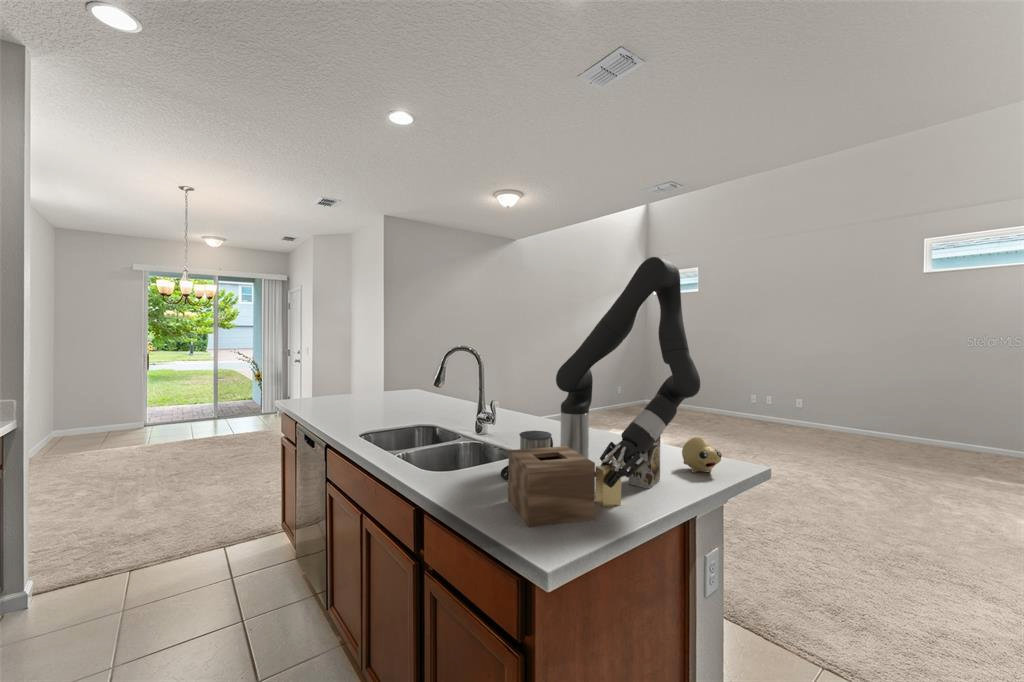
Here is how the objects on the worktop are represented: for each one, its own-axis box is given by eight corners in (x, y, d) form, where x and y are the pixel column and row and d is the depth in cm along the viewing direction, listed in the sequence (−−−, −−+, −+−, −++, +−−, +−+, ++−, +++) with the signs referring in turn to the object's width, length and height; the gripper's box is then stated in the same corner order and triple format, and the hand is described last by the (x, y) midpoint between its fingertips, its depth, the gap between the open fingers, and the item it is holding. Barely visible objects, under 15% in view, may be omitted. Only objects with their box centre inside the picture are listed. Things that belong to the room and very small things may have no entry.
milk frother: (549, 493, 116) (549, 438, 116) (492, 489, 120) (492, 435, 119) (555, 477, 130) (555, 427, 130) (504, 473, 134) (504, 425, 133)
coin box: (508, 501, 111) (508, 450, 111) (566, 495, 115) (566, 446, 115) (528, 527, 95) (529, 468, 95) (594, 519, 100) (594, 463, 100)
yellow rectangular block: (595, 501, 111) (595, 466, 111) (612, 499, 113) (613, 464, 113) (603, 507, 107) (603, 470, 107) (620, 505, 109) (621, 469, 109)
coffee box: (650, 489, 120) (650, 431, 120) (627, 484, 124) (628, 428, 124) (661, 481, 127) (661, 426, 127) (639, 476, 131) (640, 423, 131)
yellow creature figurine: (698, 479, 129) (698, 443, 129) (676, 467, 141) (676, 434, 141) (727, 477, 131) (728, 442, 131) (703, 465, 143) (703, 433, 143)
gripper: (620, 416, 119) (579, 463, 115) (651, 427, 105) (606, 481, 102) (636, 434, 120) (597, 481, 117) (669, 447, 107) (626, 501, 103)
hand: (601, 481), depth 109 cm, fingers open, 5 cm apart
